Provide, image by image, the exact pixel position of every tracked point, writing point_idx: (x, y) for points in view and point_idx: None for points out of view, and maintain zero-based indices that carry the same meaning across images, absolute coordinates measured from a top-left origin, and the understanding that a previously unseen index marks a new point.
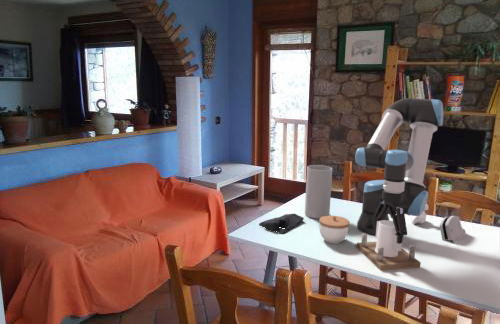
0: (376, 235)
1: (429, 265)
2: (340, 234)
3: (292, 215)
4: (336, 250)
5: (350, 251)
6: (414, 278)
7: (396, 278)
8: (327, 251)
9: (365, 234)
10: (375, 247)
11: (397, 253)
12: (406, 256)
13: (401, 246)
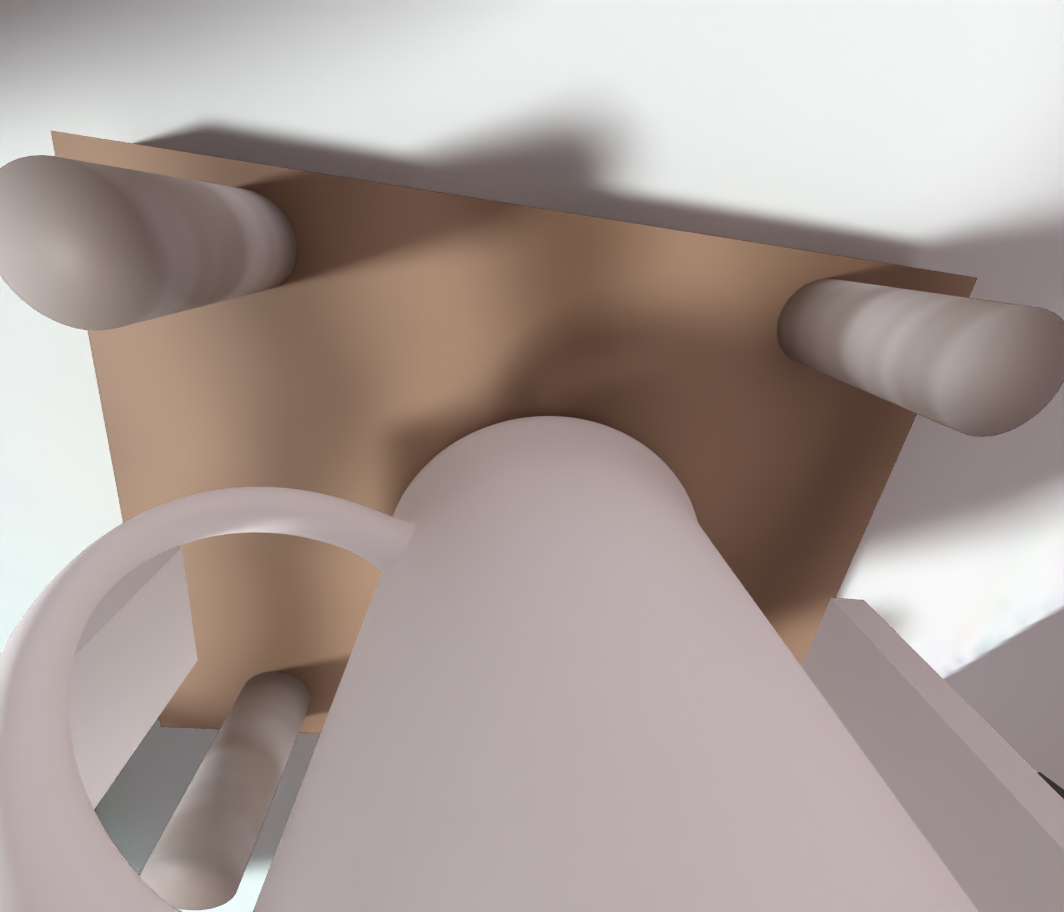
0: (177, 682)
1: (951, 56)
2: None
3: None
4: (268, 847)
5: (304, 761)
6: (1020, 514)
7: None
8: None
9: (189, 875)
10: (339, 590)
11: (683, 495)
12: (732, 351)
13: (925, 662)
